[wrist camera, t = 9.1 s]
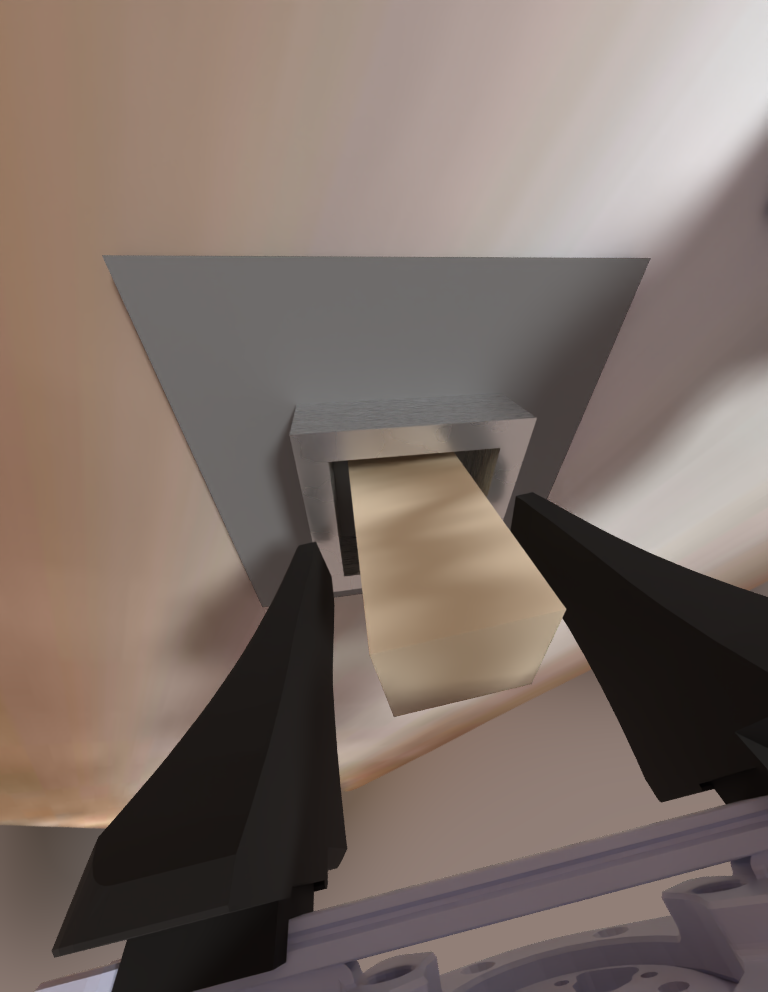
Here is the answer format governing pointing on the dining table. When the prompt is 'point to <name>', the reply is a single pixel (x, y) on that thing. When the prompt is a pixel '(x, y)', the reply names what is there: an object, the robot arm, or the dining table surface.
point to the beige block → (444, 585)
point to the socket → (402, 454)
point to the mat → (361, 361)
